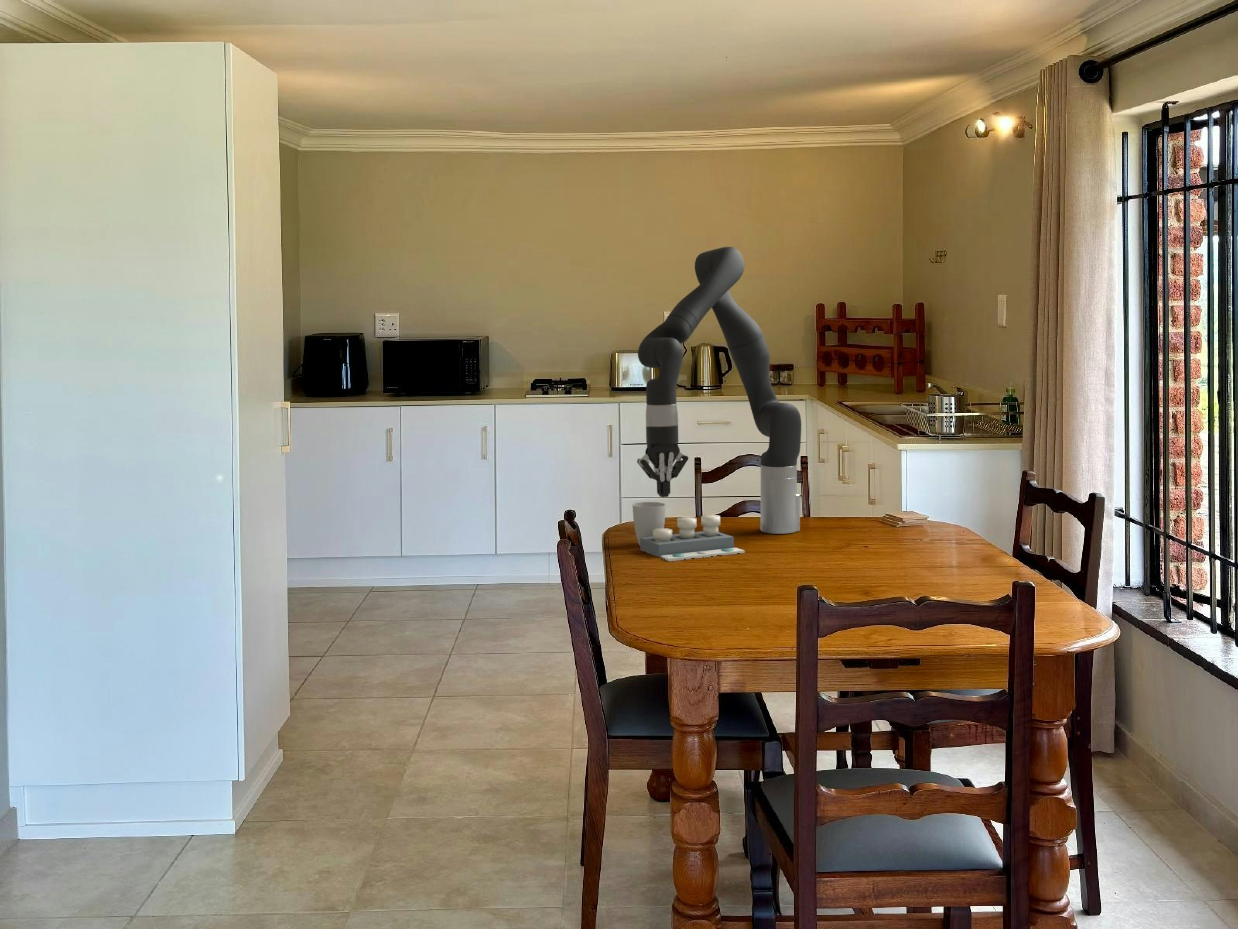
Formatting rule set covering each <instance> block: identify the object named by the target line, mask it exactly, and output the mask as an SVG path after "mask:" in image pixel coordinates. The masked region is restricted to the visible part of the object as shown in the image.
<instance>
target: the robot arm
mask: <svg viewBox="0 0 1238 929" xmlns="http://www.w3.org/2000/svg"><path fill="white" fill-rule="evenodd" d="M694 260H695V261H694V271H695V272H694V273H695V276H696V279H697V282H698V283H699V285H698V286H696V287H695V288H694V289H693V290H692V291H690V292H689V293H688V294H687V295H686V296H685V297H683V298H682V299H681V300H680V301H679V302H678V303H677V304H676V305H675V306H674V307H673V309H672V310H671V312H670V313H669V314H668V316H666V318H665V320H664V321H663V322H662V323H661V324H659V325H658V326H656V327H655V328H654V329H653V330H652V331H651V332H649V333H648V334H647V335H646V336H645V337H644V338H643V339H642V340H641V342H640V344H639V346H638V350H637V358H638V361H639V363H640V364H641V365H642V366H644V367H645V368H648V369H660V370H659V373H658V375H657V377H655V378H651V379H648V381H647V382H646V386H645V388H646V389H645V390H646V391H645V394H646V397H645V398H646V401H645V402H646V403H645V404H646V406H645V407H646V408H645V438H646V439H645V440H646V449H645V452H644V453H645V454H643V456H642V457H641V458H637V460H636V463H637V464H638V465H639V467H640V468H641V470H642V471H643V472H644V473H645V474H646V475H647V477H648V478H649V479H651V480H655V481H656V493H657V495H658V496H659V497H660V498H669V495H670V494H671V481H672V480H673V479H674V478H677V477H678V476H679V475H680V473H681V471H682V469H684V466H685V465H686V463H687V462H688V461H689V456H688V455H684V454H683V453H682V452H681V449H680V447H679V444H678V443H679V415H678V414H679V413H678V408H677V407H678V406H677V385H678V384H677V383H678V380H679V375H680V372H681V367H682V363H683V357H684V352H683V348H682V345H681V344H683V343H685V342H687V341H688V340H689V339H690V337H691V336H692V334H694V331H695V330H696V328H697V327H698V326H699V324H700V323H701V321H702V320H703V319H704V317H705V316H706V314H708V312H709V311H710V310H711V309H712V311H713V313H714V316H715V318H716V320H717V322H718V325H719V328H720V329H721V332H722V334H723V337H724V340H725V342H726V343H725V344H726V345H727V348H728V350H729V354H730V356H731V358H732V361H733V362H734V364H735V367H736V369H737V372H738V375H739V378H740V380H741V383H742V385H743V387H744V391H745V392H746V393H745V394H746V396H747V400H748V402H749V406H750V410H751V413H752V414H751V415H752V417H753V421H754V423H755V424H754V425H755V426H756V428H757V430H758V431H759V432H760V433H761V435H763V436H764V437H768V438H769V440H768V447H767V450H766V451H764V452H763V453H762V454H761V455H760V522H759V523H760V531H761V532H762V533H765V534H774V535H775V534H777V535H778V534H780V535H782V534H784V535H785V534H791V533H792V534H793V533H795V532H799V531H801V530H800V529H801V526H800V525H801V519H800V518H801V516H800V515H801V494H799V493H797V490H798V488H797V485H798V484H797V478H798V476H797V475H798V469H797V468H798V467H797V466H798V458H799V456H800V452H801V441H802V440H801V439H802V417H801V414H800V411H799V409H798V408H797V406H795V405H793V404H791V403H788V402H781V401H779V400H778V398H777V396H776V393H775V392H774V389H773V386H772V383H771V379H770V360H771V359H770V358H771V357H770V352H769V351H770V350H769V347H768V345H767V342H766V339H765V337H764V334H763V332H762V329H761V327H760V326H759V324H758V323H757V322H756V321H755V320H754V319H753V318H752V317H751V316H750V315H749V314H748V313H747V312H746V311H745V310H744V309H743V308H742V307H741V306H740V305H738V303H737V302H736V301H735V299H734V298H733V296H732V294H731V292H730V289H731V288H732V287H733V286H734V285H735V284H737V282H738V281H739V280H740V279H741V278H742V276H743V274H744V272H745V260H744V257H743V255H742V253H741V252H740V250H738V249H737V248H735V247H732V246H722V247H718V248H714V249H710V250H707V251H703V252H701V253H699V254H698V255H697V257H696V258H695V259H694ZM650 463H651V464H652V465H653V468H652V467H651V465H650Z"/></svg>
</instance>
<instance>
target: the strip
mask: <svg viewBox="0 0 1238 929" xmlns="http://www.w3.org/2000/svg"><path fill="white" fill-rule="evenodd" d="M737 553H740V554H745V553H746V551H745V549H742V548H741V549H740V548H738V547H734V548H725V549H718V550H709V551H698V552H690V553H681V554H672V555H662V556H661V557H660V558H661V559H662V558H663V559H662V560H664V559H665V561H667V562H677V561H683V560H684V559H686V560H692V559H691V558H695V559H701V558H703V557H704V558H711V556H713V557H718V556H717V555H722V556H729V555H737ZM704 558H703V559H704ZM684 561H685V560H684Z"/></svg>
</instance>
